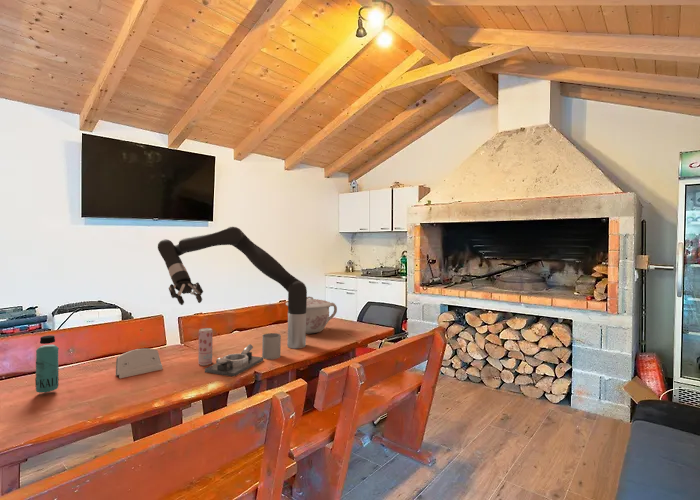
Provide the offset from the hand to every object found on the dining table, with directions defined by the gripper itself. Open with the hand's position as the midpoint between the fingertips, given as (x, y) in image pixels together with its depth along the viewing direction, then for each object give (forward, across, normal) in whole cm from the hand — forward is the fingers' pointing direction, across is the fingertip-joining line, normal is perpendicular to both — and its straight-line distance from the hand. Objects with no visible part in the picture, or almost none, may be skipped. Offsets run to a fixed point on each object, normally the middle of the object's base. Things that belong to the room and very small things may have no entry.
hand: (191, 302), depth 178 cm
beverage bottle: (+19, -53, +18) cm, 59 cm away
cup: (+35, +26, 0) cm, 44 cm away
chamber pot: (+19, +74, +15) cm, 78 cm away
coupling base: (+35, +7, 0) cm, 35 cm away
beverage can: (+26, 0, +10) cm, 28 cm away
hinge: (+19, -23, +18) cm, 34 cm away
